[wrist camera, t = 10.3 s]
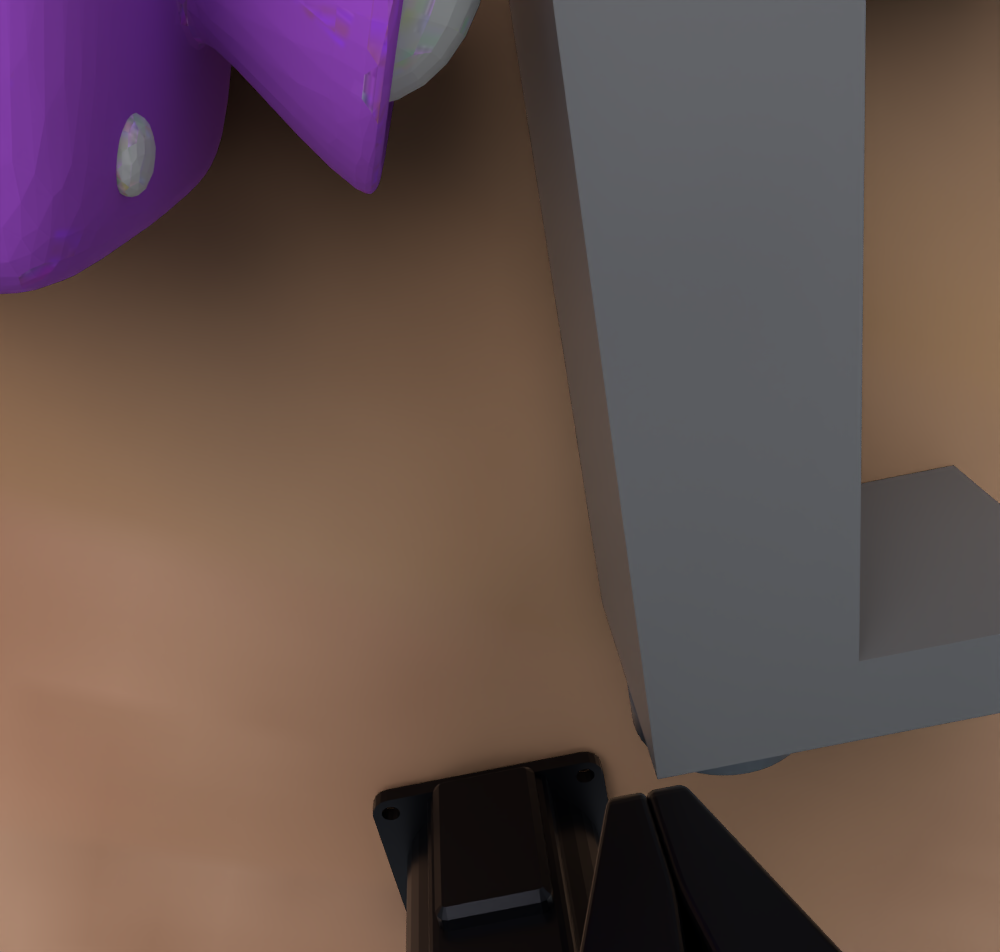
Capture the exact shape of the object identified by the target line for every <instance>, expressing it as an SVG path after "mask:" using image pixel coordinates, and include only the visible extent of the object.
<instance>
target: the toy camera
mask: <svg viewBox="0 0 1000 952" xmlns="http://www.w3.org/2000/svg"><path fill="white" fill-rule="evenodd" d="M480 1H481V0H0V294H8V293H21V292H26V291H31V290H37V289H40V288H42V287H45V286H48V285H51V284H54V283H57V282H60V281H63V280H65V279H67V278H69V277H72V276H74V275H76V274H78V273H79V272H81V271H83V270H84V269H86V268H88V267H89V266H91V265H93V264H94V263H96V262H98V261H99V260H101V259H102V258H104V257H105V256H107V255H108V254H110V253H111V252H113V251H114V250H115V249H117V248H118V247H120V246H121V245H123V244H124V243H126V242H127V241H128V240H130V239H131V238H133V237H134V236H136V235H137V234H139V233H140V232H141V231H143V230H144V229H146V228H147V227H149V226H150V225H151V224H152V223H154V222H155V221H156V220H157V219H159V218H160V217H161V216H162V215H164V214H165V213H166V212H167V211H169V210H170V209H171V208H172V207H173V206H174V205H176V204H177V203H178V202H179V201H180V200H181V199H183V198H184V197H185V196H186V195H187V194H188V193H189V192H190V191H191V190H192V189H193V188H194V187H195V186H196V185H197V184H198V183H199V182H200V181H201V179H202V178H203V177H204V176H205V174H206V173H207V171H208V170H209V168H210V166H211V165H212V163H213V160H214V158H215V156H216V153H217V150H218V147H219V143H220V140H221V137H222V132H223V126H224V121H225V115H226V109H227V103H228V93H229V83H230V74H231V65H232V66H233V67H234V68H236V69H237V70H238V71H239V73H240V74H241V75H242V76H243V77H244V78H245V79H246V80H247V81H248V82H249V83H250V84H251V85H252V87H253V88H254V89H255V90H256V91H257V92H258V93H259V94H260V95H261V96H262V97H263V98H264V99H265V100H266V102H267V103H268V104H269V105H270V106H271V107H272V108H273V109H274V110H275V111H276V112H277V113H278V114H279V116H280V117H281V118H282V119H283V120H284V121H285V122H286V123H287V124H288V125H289V126H290V127H291V128H292V130H293V131H294V132H295V133H296V134H297V135H298V136H299V137H300V138H301V139H302V140H303V141H304V142H305V143H306V144H307V145H308V146H309V147H310V148H311V149H312V150H313V151H314V152H315V153H316V154H317V155H318V156H319V157H320V158H321V159H322V160H323V161H324V162H325V163H326V164H327V165H328V166H329V167H330V168H331V169H333V170H334V171H335V172H336V173H338V174H339V175H340V176H341V177H342V178H344V179H345V180H346V181H347V182H348V183H350V184H351V185H352V186H353V187H355V188H356V189H358V190H360V191H362V192H364V193H366V194H372V193H373V192H374V191H375V190H376V189H377V187H378V185H379V183H380V179H381V174H382V170H383V165H384V160H385V154H386V148H387V142H388V135H389V129H390V123H391V117H392V111H393V104H394V101H395V100H398V99H400V98H402V97H404V96H405V95H407V94H409V93H411V92H413V91H415V90H416V89H418V88H420V87H422V86H424V85H425V84H426V83H427V82H428V81H429V80H430V79H431V78H432V77H434V76H435V75H436V74H437V73H438V72H439V71H440V70H441V69H442V68H443V67H444V66H445V65H446V64H447V63H448V62H449V60H450V59H451V57H452V56H453V54H454V53H455V51H456V50H457V48H458V47H459V45H460V44H461V42H462V41H463V40H464V38H465V37H466V34H467V32H468V30H469V27H470V25H471V23H472V21H473V18H474V16H475V14H476V11H477V9H478V7H479V5H480Z"/></svg>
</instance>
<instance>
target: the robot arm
mask: <svg viewBox="0 0 1000 952" xmlns="http://www.w3.org/2000/svg"><path fill="white" fill-rule="evenodd" d="M583 769H589V770H587V771H585V772H579V771H581V770H583ZM388 807H395V808H394V809H388ZM373 818H374V820H375V823H376V826H377V829H378V832H379V835H380V838H381V840H382V843H383V846H384V849H385V852H386V855H387V858H388V860H389V863H390V866H391V869H392V872H393V875H394V878H395V881H396V883H397V886H398V889H399V892H400V895H401V898H402V901H403V903H404V906H405V909H406V912H407V917H406V952H842V951H841V950H840V949H839V948H838V947H837V946H836V945H835V943H834V942H833V941H832V940H831V939H830V938H829V937H828V936H827V935H826V934H825V933H824V932H823V931H822V930H821V929H820V928H819V927H818V925H817V924H816V923H815V922H814V921H813V920H812V919H811V918H810V917H809V916H808V915H807V914H806V913H805V912H804V911H803V910H802V908H801V907H800V906H799V905H798V904H797V903H796V902H795V901H794V900H793V899H792V898H791V897H790V896H789V895H788V894H787V893H786V892H785V890H784V889H783V888H782V887H781V886H780V885H779V884H778V883H777V882H776V881H775V880H774V879H773V878H772V877H771V876H770V875H769V873H768V872H767V871H766V870H765V869H764V868H763V867H762V866H761V865H760V864H759V863H758V862H757V861H756V860H755V859H754V858H753V857H752V855H751V854H750V853H749V852H748V851H747V850H746V849H745V848H744V847H743V846H742V845H741V844H740V843H739V842H738V841H737V840H736V838H735V837H734V836H733V835H732V834H731V833H730V832H729V831H728V830H727V829H726V828H725V827H724V826H723V825H722V824H721V823H720V821H719V820H718V819H717V818H716V817H715V816H714V815H713V814H712V813H711V812H710V811H709V810H708V809H707V808H706V807H705V806H704V805H703V803H702V802H701V801H700V800H699V799H698V798H697V797H696V796H695V795H694V794H693V793H692V792H691V791H690V790H689V789H688V788H687V787H685V786H682V785H677V786H671V787H666V788H661V789H656V790H652V791H650V792H649V793H648V796H647V797H646V796H645V795H644V794H642V793H635V794H630V795H625V796H619V797H614V798H611V799H610V800H609V801H608V798H607V792H606V786H605V780H604V775H603V770H602V766H601V762H600V760H599V757H598V756H596V755H595V754H593V753H590V752H579V753H574V754H569V755H564V756H558V757H553V758H548V759H543V760H538V761H533V762H528V763H522V764H517V765H512V766H507V767H502V768H497V769H492V770H486V771H481V772H476V773H471V774H466V775H461V776H456V777H450V778H445V779H440V780H435V781H430V782H425V783H420V784H414V785H409V786H404V787H399V788H394V789H389V790H385V791H382V792H380V793H379V794H378V795H377V796H376V797H375V799H374V803H373Z"/></svg>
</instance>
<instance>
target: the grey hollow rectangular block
mask: <svg viewBox="0 0 1000 952" xmlns="http://www.w3.org/2000/svg"><path fill="white" fill-rule="evenodd" d="M509 4H510V11H511V17H512V24H513V30H514V36H515V43H516V49H517V56H518V62H519V69H520V75H521V82H522V88H523V95H524V101H525V107H526V114H527V120H528V127H529V133H530V140H531V146H532V153H533V159H534V166H535V172H536V178H537V185H538V191H539V198H540V204H541V211H542V217H543V224H544V230H545V237H546V243H547V249H548V256H549V262H550V269H551V275H552V282H553V288H554V295H555V301H556V307H557V314H558V320H559V327H560V333H561V340H562V346H563V353H564V359H565V366H566V372H567V378H568V385H569V391H570V398H571V404H572V411H573V417H574V424H575V430H576V437H577V443H578V449H579V456H580V462H581V469H582V475H583V482H584V488H585V495H586V501H587V508H588V514H589V520H590V527H591V533H592V540H593V546H594V553H595V559H596V566H597V572H598V579H599V585H600V591H601V598H602V603H603V606H604V610H605V613H606V616H607V619H608V622H609V626H610V629H611V632H612V635H613V638H614V642H615V645H616V648H617V651H618V654H619V658H620V661H621V664H622V667H623V670H624V673H625V677H626V680H627V684H628V691H629V698H630V705H631V712H632V718H633V723H634V726H635V729H636V731H637V733H638V735H639V736H640V738H641V740H642V741H643V742H644V743H645V745H646V746H647V747H648V750H649V753H650V757H651V760H652V763H653V766H654V769H655V772H656V776H657V779H661V778H667V777H672V776H677V775H682V774H687V773H692V772H697V773H703V774H709V775H738V774H745V773H750V772H754V771H758V770H761V769H764V768H767V767H769V766H772V765H774V764H776V763H778V762H779V761H781V760H783V759H784V758H786V757H787V756H789V755H790V754H791V753H796V752H801V751H806V750H811V749H816V748H821V747H826V746H832V745H837V744H842V743H847V742H852V741H857V740H863V739H868V738H873V737H878V736H883V735H888V734H893V733H899V732H904V731H909V730H914V729H919V728H924V727H930V726H935V725H940V724H945V723H950V722H955V721H961V720H966V719H971V718H976V717H981V716H986V715H991V714H997V713H1000V504H999V503H998V502H997V501H996V500H994V499H993V498H992V497H991V496H990V495H988V494H987V493H986V492H985V491H984V490H982V489H981V488H980V487H979V486H978V485H977V484H975V483H974V482H973V481H972V480H971V479H969V478H968V477H967V476H966V475H965V474H963V473H962V472H961V471H960V470H959V469H957V468H956V467H955V466H954V465H953V466H948V467H943V468H938V469H933V470H927V471H922V472H917V473H912V474H907V475H902V476H897V477H892V478H887V479H882V480H877V481H872V482H867V483H862V484H861V428H862V329H863V230H864V131H865V31H866V0H509Z"/></svg>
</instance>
